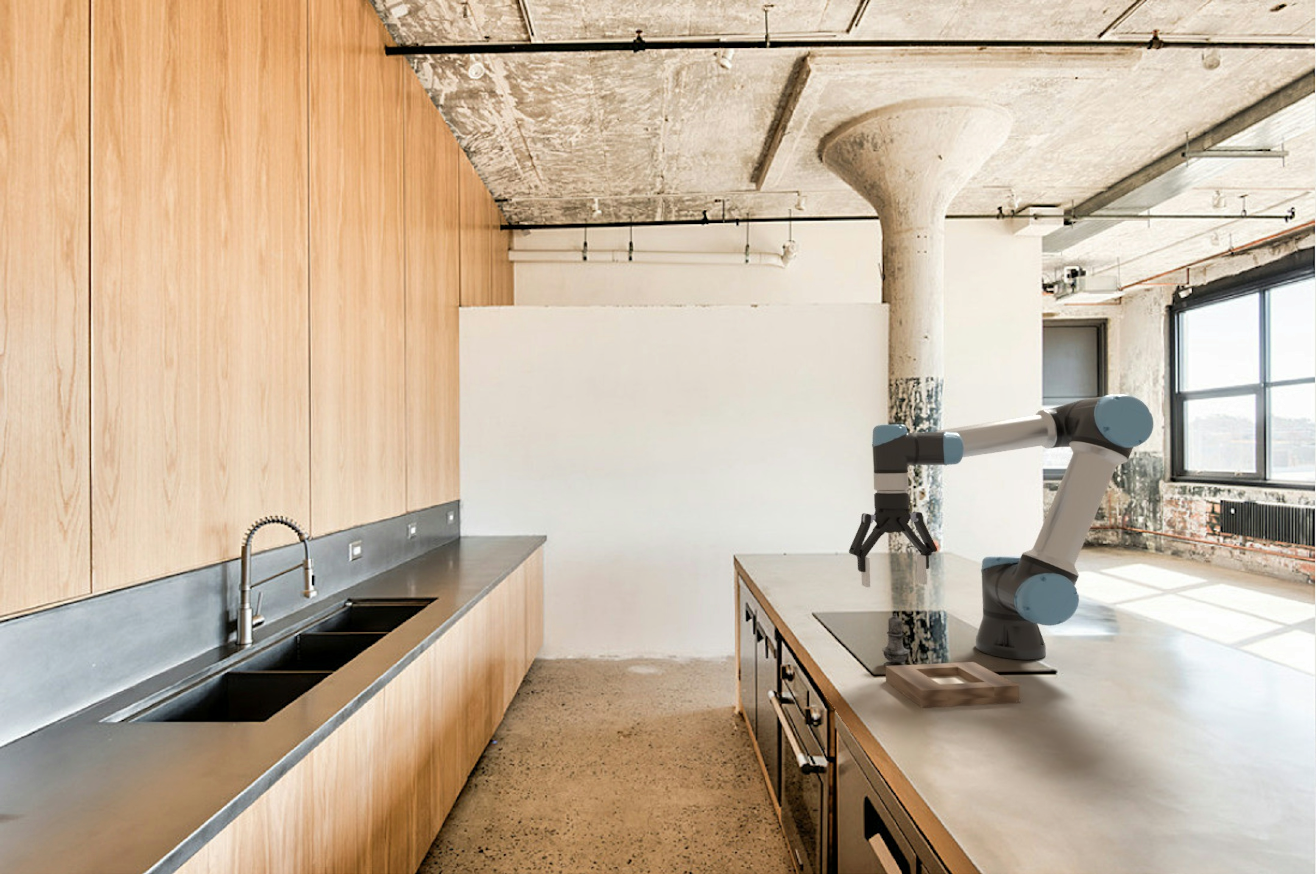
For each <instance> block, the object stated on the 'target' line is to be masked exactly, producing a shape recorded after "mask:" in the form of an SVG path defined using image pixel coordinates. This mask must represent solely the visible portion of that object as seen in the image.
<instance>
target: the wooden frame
mask: <svg viewBox="0 0 1316 874" xmlns="http://www.w3.org/2000/svg"><path fill="white" fill-rule="evenodd" d="M885 682H886V683H888V684H889V685H890V686H892V688H895V689H896V690H897V691H898V692H900V693H901V694H903V695H905V696H906V697H907V698H908V699H910V700H912V701H913V702H914V703H916V704H917V705H918V707H921V708H936V707H937V708H940V707H957V706H960V707H961V706H975V705H976V706H977V705H990V704H991V705H993V704H1010V703H1012V704H1013V703H1020V701H1021V699H1020V698H1021V696H1020V684H1017V683H1015V682H1013V681H1011V680H1009V679H1007V678H1005V677H1004V676H1002V675H999V674H998V673H996V672H994V671H992V670H990V669H988V668H986V667H984V666H983V665H980V664H978V663H976V662H975V661H965V662H964V661H963V662H946V663H945V662H943V663H925V664H924V663H923V664H906V665H898V666H886V667H885Z"/></svg>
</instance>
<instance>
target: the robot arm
mask: <svg viewBox="0 0 1316 874" xmlns="http://www.w3.org/2000/svg"><path fill="white" fill-rule="evenodd" d="M1153 429H1154V418H1153V414H1152V413H1151V412H1150V409H1149V407H1148V406H1147V404H1146V403H1144V402H1143V401H1142V400H1141V399H1140V398H1138V397H1135V396H1133V395H1129V394H1116V393H1115V394H1107V395H1104V396H1099V397H1091V398H1085V399H1080V400H1077V401H1073V402H1068V403H1065V404H1064V405H1060V406H1059V405H1058V406H1056V407H1051V408H1048V409H1041V410H1038V411H1037V412H1036V414H1035V415H1028V416H1022V417H1017V418H1016V417H1015V418H1011V419H1010V418H1009V419H1003V420H1002V419H1001V420H997V421H991V422H986V423H985V422H983V423H978V424H972V425H966V426H958V427H953V428H946V429H941V430H934V431H928V432H909V431H908V429H907V426H906V425H905V424H901V423H900V424H895V423H894V424H878V425H875V426H874V428H873V430H872V443H871V447H872V463H873V489H874V491H876V492H875V493H874V494H873V495H874V498H873V501H874V510H875V511H874V514H870V513H865V512H864V513H862V514H861V517H860V518H861V519H860V520H861V521H860V524H859V526H858V529H857V531H856V533H855V535H854V538H853V540H852V543H851V545H850V548H849V549H848V553H849V554H850V555H854V556H856V557H857V558H856V559H857V571H858V572H861V574H860V575H861V586H863V587H865V588H871V572H870V571H871V569H870V568H871V567H870V563H871V562H870V558H869V557H867V556H868V554H869V553H870V551H871V550H872V549H873V548H874V547H875V545H876V544H877V542H878V541H879V539H880V538H881V537H882V536H883V535H885V533H887V534H892V533H899V534H901V533H902V534H904V536H905V537H906V538H907V539H908V540H909V542H910V543H911V544H912V545H913V546H914V548H915V549H916V550H917V551H918V552H919V553H917V554H916V578H917V583H918V584H920V585H927V584H928V583H927V581H928V580H927V570H929V569H930V556H932V554H933V553H936V552H937V551H938V547H937V546H936V543H935V542H934V540H933V538H932V536H931V534H930V531H929V529H928V528H927V526H926V523H925V522H924V516H923V513H922V512H920V511H913V512H910V511H909V508H910V496H909V495H910V494H909V493H908V492H907V491H908V490H910V489H909V488H910V487H909V486H910V485H909V466H948V465H950V466H951V465H958V464H959V463H961V461H962V460H963V458H968V457H974V456H983V455H987V454H995V453H1000V452H1007V451H1014V450H1021V449H1027V448H1028V449H1029V448H1034V447H1043V448H1044V449H1054V448H1055V449H1056V448H1070V449H1071V451H1072V455H1071V457H1070V460H1069V463H1068V464H1067V467H1066V470H1065V472H1064V475H1063V477H1062V479H1061V481H1060V484H1059V486H1058V488H1057V491H1056V493H1055V495H1054V498H1053V500H1052V503H1051V505H1050V508H1049V510H1048V511H1047V514H1046V516H1045V519H1044V522H1043V524H1042V526H1041V529H1040V531H1039V533H1038V536H1037V538H1036V540H1035V543H1034V545H1033V547H1032V548H1031V549H1030V550H1026V551H1024V552H1022V554H1021V556H986V557H984V558H983V559H982V561H981V570H980V572H981V590H982V591H981V592H982V593H981V595H982V619H981V622H980V624H979V628H978V631H977V634H976V636H975V648H976V649H977V650H978V651H979V652H981V653H984V654H987V655H990V656H995V657H999V658H1004V659H1011V660H1012V659H1013V660H1027V661H1028V660H1039V659H1042V658H1045V657H1046V655H1047V647H1046V643H1045V640H1044V638H1043V635H1042V632H1041V630H1040V627H1039V625H1041V626H1048V627H1049V626H1056V625H1060V624H1063V623H1065V622H1066V621H1068V620H1070V619H1071V618H1072V617H1073V615H1074V614H1075V613H1076V611H1077V610H1078V607H1079V602H1080V597H1079V594H1078V590H1077V588H1076V587H1077V586H1076V583H1077V581H1078V579H1079V576H1080V574H1079V573H1078V571H1077V568H1076V565H1075V564H1076V563H1077V560H1078V557H1079V555H1080V553H1081V551H1082V548H1083V545H1084V544H1085V541H1086V539H1087V536H1088V533H1089V532H1090V530H1091V527H1092V524H1093V522H1094V521H1095V517H1096V515H1097V513H1098V510H1099V508H1100V506H1101V504H1102V501H1103V499H1104V496H1105V494H1106V492H1107V489H1108V487H1109V484H1110V482H1111V479H1112V477H1113V474H1114V472H1115V470H1116V468H1117V467H1118V466H1121V465H1122V464H1126V463H1127V462H1128V461H1129V458H1130V456H1131V455H1132V452H1133V449H1134V447H1138V446H1140V445H1142V444H1144V443H1145V442H1146V441H1147V440H1148V439H1149V438H1150V437H1151V435H1152V433H1153ZM910 520H911V521H912V522H913V524H914V526H915V529H916V531H917V533H918V534H919V537H920V538H919V537H918V536H917V535H916V533H915V532H914V530H913V529H912V527H911V526H910V525H909V524H908V523H909V522H910ZM873 522H875V526H874V527H873V529H872V532H871V533H870V534H869V535H868V536H867V534H868V532H869V529H870V527H871V524H873ZM866 537H867V538H866Z"/></svg>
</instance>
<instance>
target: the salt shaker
mask: <svg viewBox="0 0 1316 874" xmlns="http://www.w3.org/2000/svg"><path fill="white" fill-rule="evenodd" d="M887 624H888V631H886V634H887V636H888V642H887V646H884V647H882V649H881V651H882V653H883V655H884V658H885V659H886V660H887V661H886V662H884V663H883V667H885V666H898V665H907V663H905V661H907V659H908V656H909V653H910V651H909V649H908V648H905V647H904V644H903V643H904V642H903V636H904V633H903V625H902V624H903V622H902V619H901V618H899V617H898V616H897V613H896V612H895V613H893V616H891V617H890V618H888V623H887Z"/></svg>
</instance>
